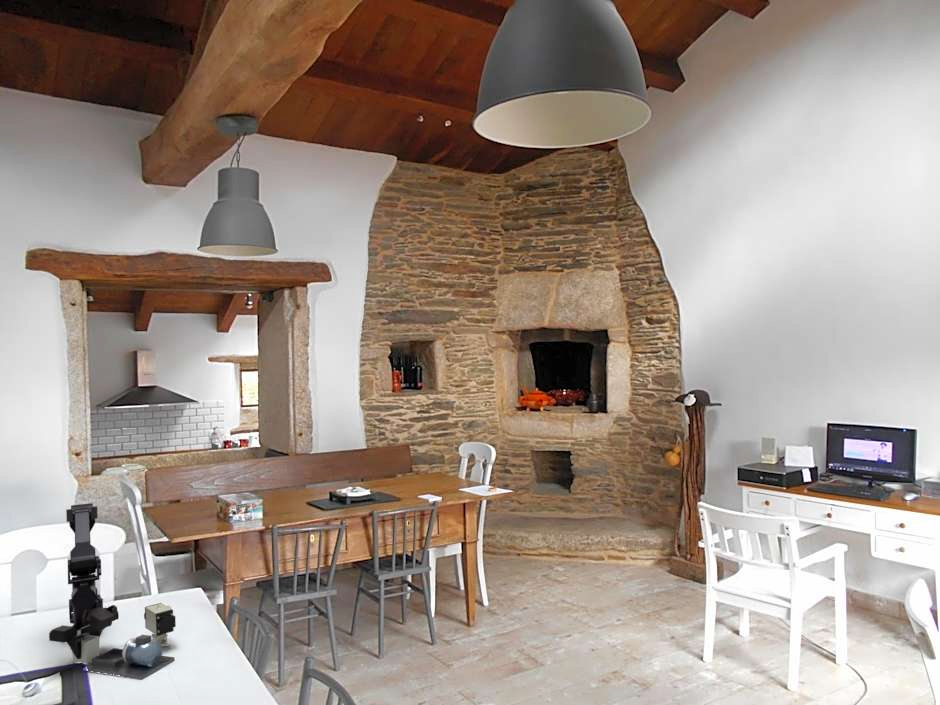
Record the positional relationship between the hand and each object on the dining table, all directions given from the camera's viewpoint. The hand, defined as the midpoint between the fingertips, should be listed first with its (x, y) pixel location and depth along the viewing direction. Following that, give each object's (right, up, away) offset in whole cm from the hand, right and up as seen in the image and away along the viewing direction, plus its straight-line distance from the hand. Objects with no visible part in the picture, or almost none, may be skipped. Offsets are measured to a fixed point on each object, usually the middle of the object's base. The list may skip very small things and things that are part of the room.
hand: (86, 655), depth 204 cm
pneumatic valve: (+17, -1, +9) cm, 19 cm away
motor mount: (+14, -1, -5) cm, 15 cm away
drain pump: (0, -1, 0) cm, 1 cm away
